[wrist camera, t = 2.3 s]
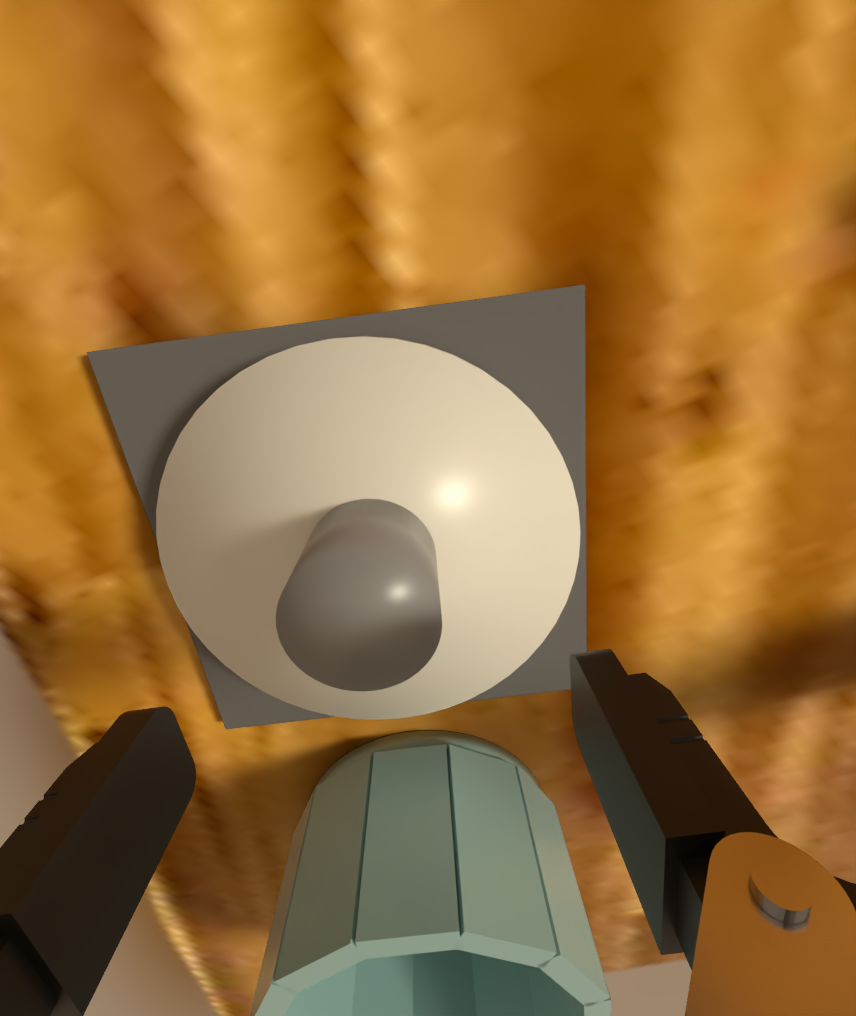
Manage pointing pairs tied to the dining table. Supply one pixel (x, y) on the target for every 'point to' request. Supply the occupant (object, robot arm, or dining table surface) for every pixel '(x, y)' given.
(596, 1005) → the cup
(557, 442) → the mat
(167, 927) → the dining table surface
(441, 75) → the dining table surface
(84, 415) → the dining table surface
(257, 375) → the lid
